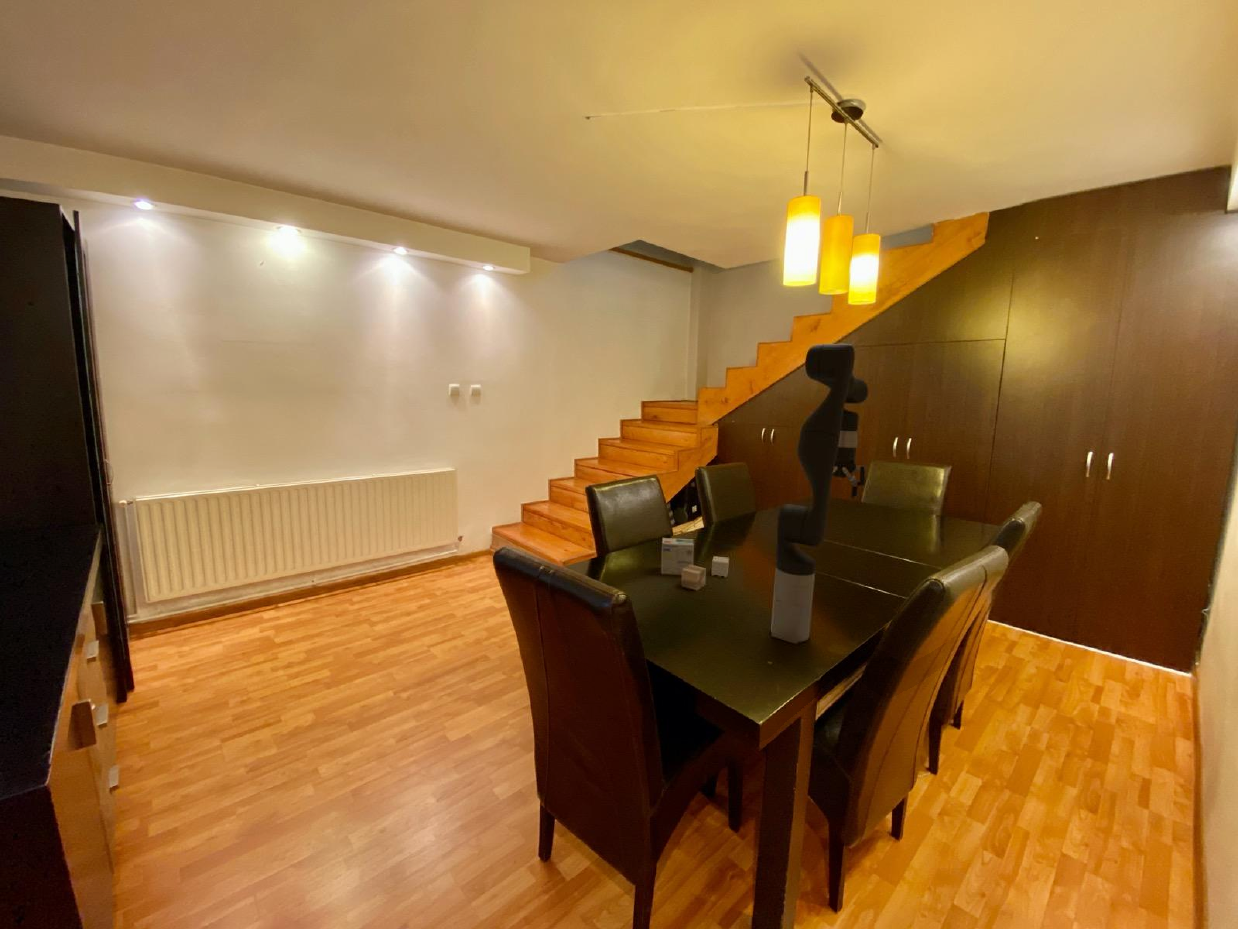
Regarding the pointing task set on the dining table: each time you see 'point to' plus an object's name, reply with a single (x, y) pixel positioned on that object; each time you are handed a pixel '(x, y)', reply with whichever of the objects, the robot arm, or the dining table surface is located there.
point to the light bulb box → (676, 555)
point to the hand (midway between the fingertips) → (838, 495)
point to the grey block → (720, 566)
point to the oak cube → (693, 577)
